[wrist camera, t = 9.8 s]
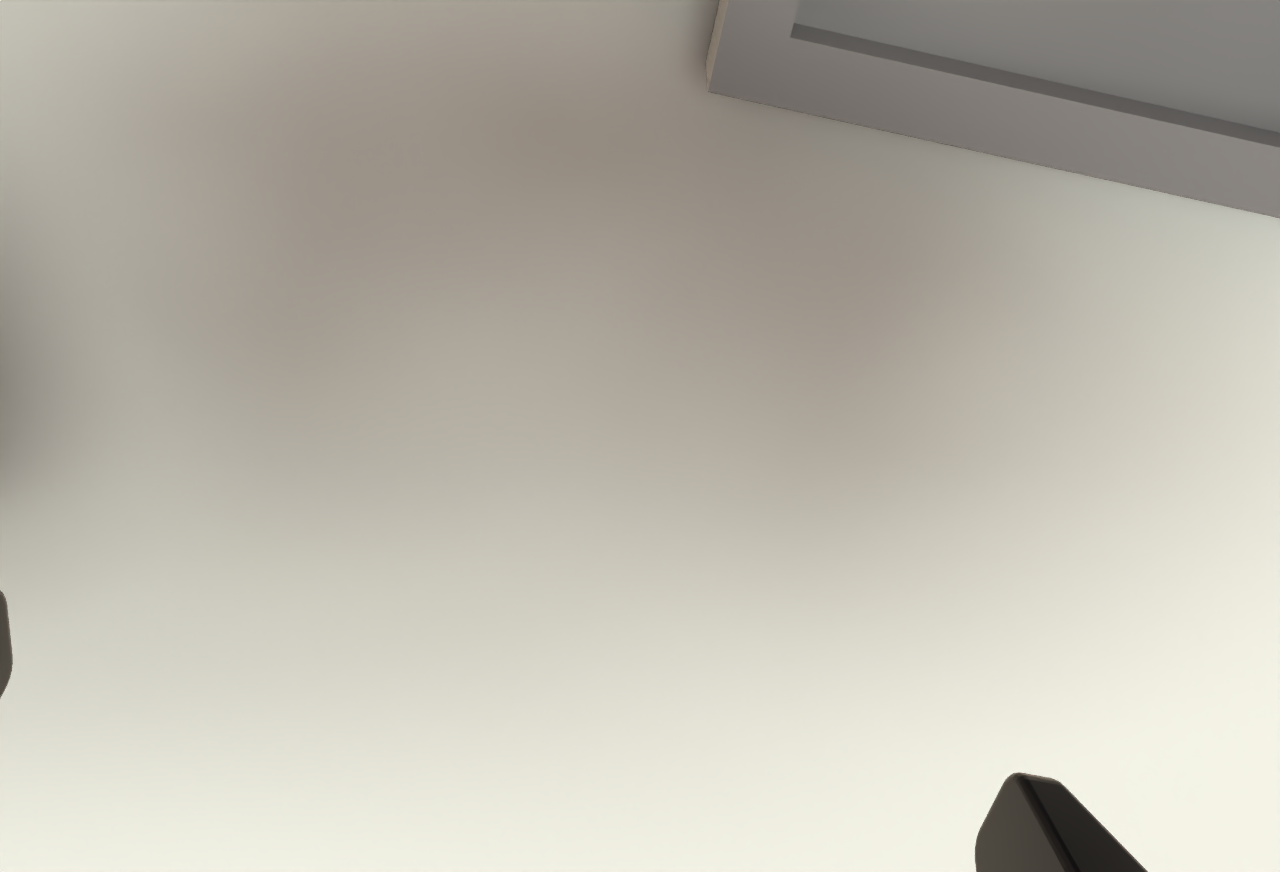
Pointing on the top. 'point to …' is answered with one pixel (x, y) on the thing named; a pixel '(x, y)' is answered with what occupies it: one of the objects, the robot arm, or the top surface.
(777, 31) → the parts tray
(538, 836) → the top surface
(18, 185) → the top surface
